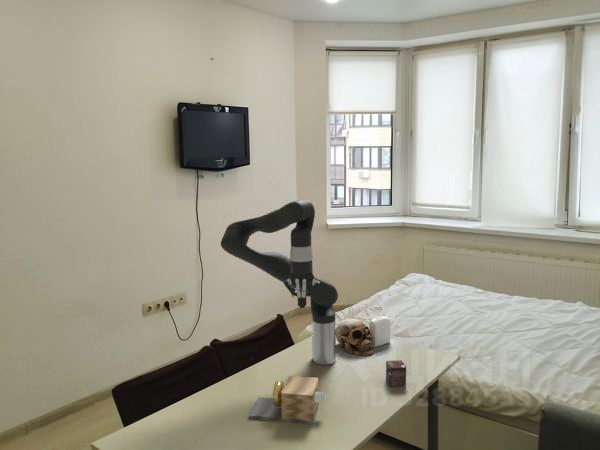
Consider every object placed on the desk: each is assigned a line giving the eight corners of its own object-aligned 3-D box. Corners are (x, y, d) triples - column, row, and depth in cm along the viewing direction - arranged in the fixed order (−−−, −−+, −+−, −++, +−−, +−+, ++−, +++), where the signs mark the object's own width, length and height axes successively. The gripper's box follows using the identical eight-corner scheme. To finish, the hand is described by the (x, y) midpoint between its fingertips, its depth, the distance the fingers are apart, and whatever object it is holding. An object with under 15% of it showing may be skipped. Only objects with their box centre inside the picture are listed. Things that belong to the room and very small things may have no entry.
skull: (373, 356, 199) (370, 325, 198) (332, 356, 204) (329, 326, 203) (377, 343, 214) (374, 314, 213) (339, 344, 219) (336, 315, 218)
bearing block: (248, 418, 154) (247, 390, 153) (258, 399, 166) (257, 373, 164) (313, 423, 150) (312, 395, 149) (318, 404, 162) (318, 377, 160)
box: (385, 379, 179) (385, 360, 178) (401, 378, 179) (401, 359, 178) (390, 387, 173) (390, 367, 172) (406, 386, 173) (406, 366, 172)
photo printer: (374, 348, 208) (374, 320, 206) (367, 345, 211) (367, 318, 210) (391, 342, 213) (392, 316, 211) (385, 339, 217) (385, 313, 215)
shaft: (273, 411, 154) (272, 387, 153) (278, 398, 162) (278, 376, 161) (323, 415, 151) (323, 391, 150) (326, 402, 159) (326, 379, 158)
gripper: (280, 260, 162) (281, 310, 164) (318, 261, 159) (319, 311, 162) (284, 255, 169) (285, 303, 171) (322, 256, 166) (322, 304, 169)
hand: (302, 307), depth 167 cm, fingers closed
